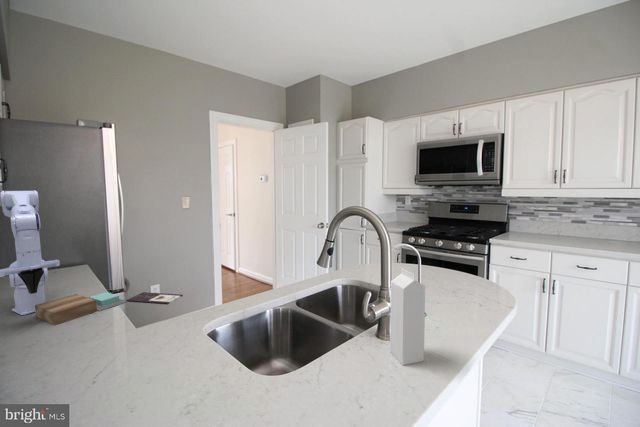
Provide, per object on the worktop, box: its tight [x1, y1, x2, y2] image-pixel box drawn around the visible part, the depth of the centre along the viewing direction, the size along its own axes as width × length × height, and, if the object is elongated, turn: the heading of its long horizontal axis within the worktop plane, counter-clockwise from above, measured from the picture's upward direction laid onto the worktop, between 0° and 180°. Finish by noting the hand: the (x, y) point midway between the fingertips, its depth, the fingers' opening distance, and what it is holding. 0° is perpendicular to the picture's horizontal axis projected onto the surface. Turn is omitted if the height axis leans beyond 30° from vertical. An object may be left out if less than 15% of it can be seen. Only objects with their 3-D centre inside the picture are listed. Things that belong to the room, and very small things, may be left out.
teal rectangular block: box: [88, 291, 120, 306], centre depth 116 cm, size 9×6×2 cm, turn 61°
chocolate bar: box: [125, 291, 183, 305], centre depth 119 cm, size 9×1×18 cm
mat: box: [96, 298, 129, 312], centre depth 115 cm, size 16×10×1 cm, turn 61°
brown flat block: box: [34, 293, 98, 326], centre depth 105 cm, size 14×12×4 cm
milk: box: [389, 267, 426, 366], centre depth 75 cm, size 6×6×22 cm
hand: (32, 292), depth 98 cm, fingers closed
